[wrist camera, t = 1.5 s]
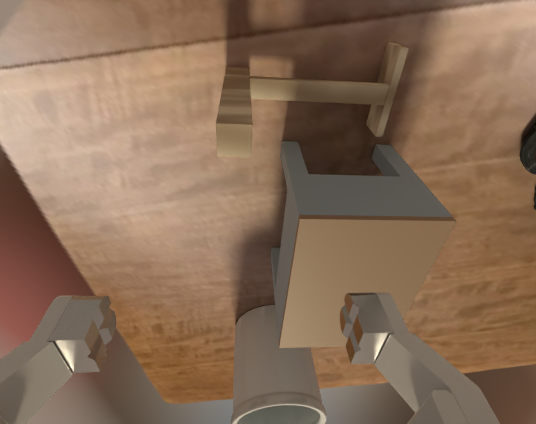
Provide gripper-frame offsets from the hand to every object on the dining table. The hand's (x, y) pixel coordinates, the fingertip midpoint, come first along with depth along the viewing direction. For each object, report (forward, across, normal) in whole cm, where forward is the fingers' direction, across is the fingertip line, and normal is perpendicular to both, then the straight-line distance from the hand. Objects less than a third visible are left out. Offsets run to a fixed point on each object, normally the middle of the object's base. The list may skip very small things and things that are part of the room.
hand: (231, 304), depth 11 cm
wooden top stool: (+29, -12, +17) cm, 36 cm away
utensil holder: (+30, -7, +46) cm, 55 cm away
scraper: (+29, -7, 0) cm, 30 cm away
